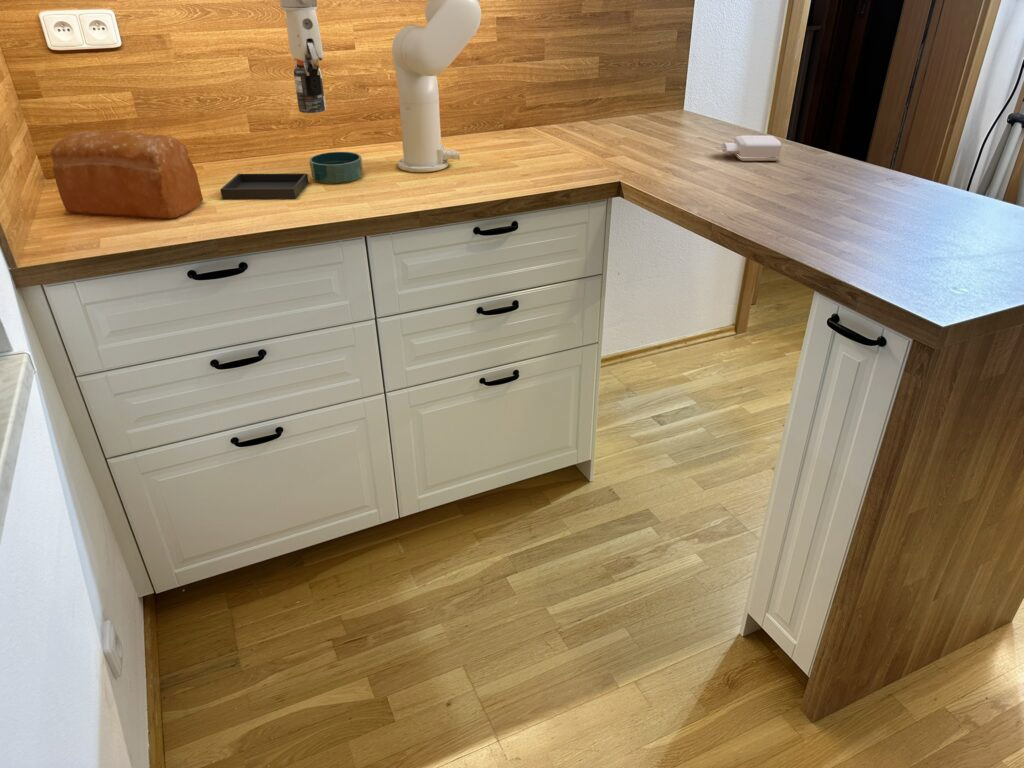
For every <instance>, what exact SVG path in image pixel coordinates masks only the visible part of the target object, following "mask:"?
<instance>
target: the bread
mask: <svg viewBox="0 0 1024 768" xmlns="http://www.w3.org/2000/svg"><path fill="white" fill-rule="evenodd" d="M49 155H50V157H51V160H52V163H53V166H52V172H53V176H54V180H55V182H56V186H57V190H58V194H59V197H60V199H61V202H62V204H63V207H64V209H65V211H66V212H67V213H72V214H85V215H100V216H101V215H102V216H116V217H117V216H119V217H137V218H149V219H175V218H177V217H180V216H182V215H184V214H187V213H189V212H191V211H192V210H194V209H196V208H198V206H199V205H200V204H201V203H202V202H203V201H204V198H203V195H202V190H201V187H200V182H199V178H198V174H197V171H196V169H195V167H194V165H193V162H192V160H191V158H190V155H189V152H188V148H187V146H186V145H184V144H183V143H182V142H181V140H179V139H178V138H175V137H174V136H170V135H167V134H154V133H153V134H149V133H142V132H135V131H128V130H107V131H106V130H105V131H94V130H86V131H75V132H72V133H70V134H67V135H66V136H65V137H63V138H61V139H60V140H59V141H57V142H55V143H54V145H53V146H52V149H51V150H50V153H49Z"/></svg>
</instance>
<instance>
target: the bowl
mask: <svg viewBox="0 0 1024 768" xmlns="http://www.w3.org/2000/svg"><path fill="white" fill-rule="evenodd" d="M308 161H309V168H310V175H311V179H312V180H314V181H315V182H318V183H323V184H331V185H332V184H333V185H335V184H346V183H351V182H353V181H354V182H355V181H356V180H359V179H360V178H362V177H364V168H363V158H362V155H361V154H359V153H357V152H351V151H329V152H323V153H319V154H315V155H313V156H311V157H310V158H309V159H308Z"/></svg>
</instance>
